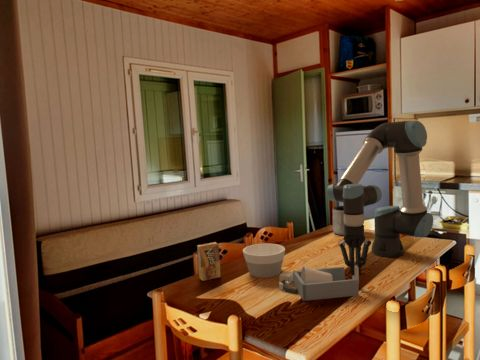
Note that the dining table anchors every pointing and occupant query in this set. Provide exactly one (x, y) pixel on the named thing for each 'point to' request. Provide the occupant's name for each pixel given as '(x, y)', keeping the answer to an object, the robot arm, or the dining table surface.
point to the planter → (338, 220)
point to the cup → (314, 276)
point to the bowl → (264, 259)
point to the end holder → (326, 285)
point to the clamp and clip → (287, 277)
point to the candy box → (208, 261)
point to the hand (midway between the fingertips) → (355, 282)
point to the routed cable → (289, 288)
